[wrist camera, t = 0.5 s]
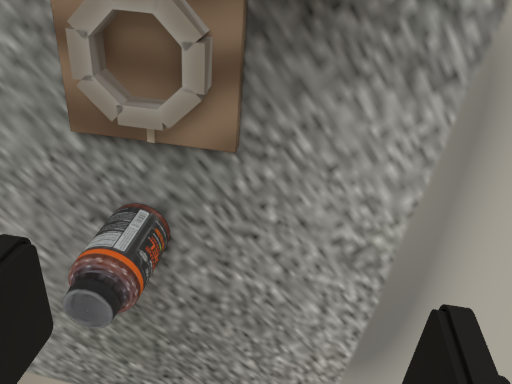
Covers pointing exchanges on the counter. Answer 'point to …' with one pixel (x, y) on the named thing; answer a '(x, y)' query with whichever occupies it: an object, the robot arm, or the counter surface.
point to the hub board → (154, 69)
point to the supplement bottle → (116, 265)
